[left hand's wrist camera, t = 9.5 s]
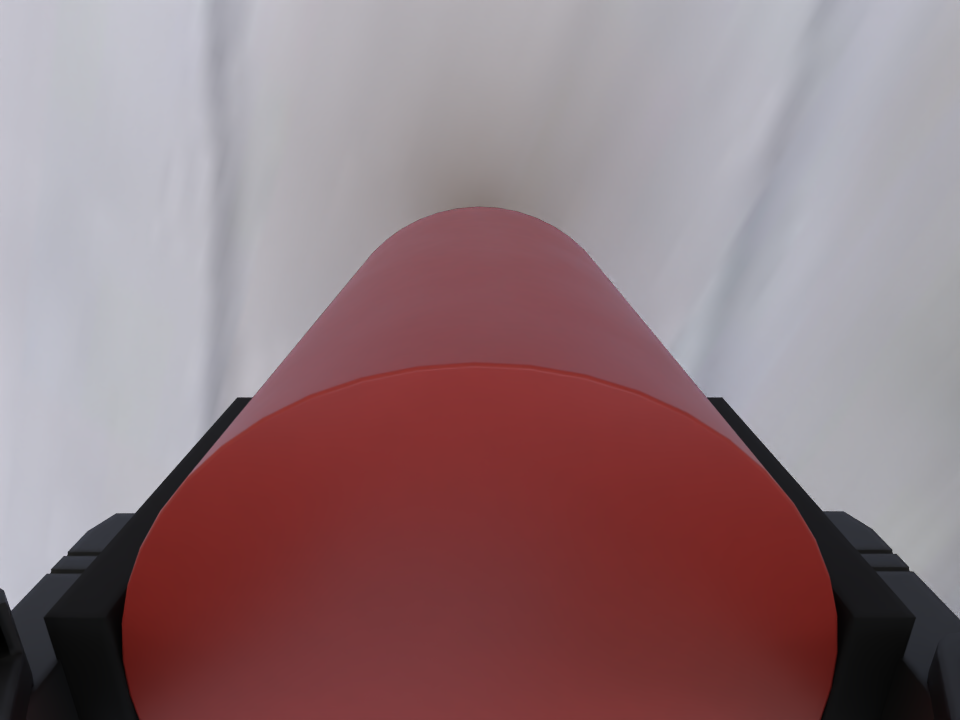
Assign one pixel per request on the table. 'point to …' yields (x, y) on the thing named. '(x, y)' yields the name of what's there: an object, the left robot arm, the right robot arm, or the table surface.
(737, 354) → the table surface
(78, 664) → the left robot arm
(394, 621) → the canister
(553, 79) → the table surface
